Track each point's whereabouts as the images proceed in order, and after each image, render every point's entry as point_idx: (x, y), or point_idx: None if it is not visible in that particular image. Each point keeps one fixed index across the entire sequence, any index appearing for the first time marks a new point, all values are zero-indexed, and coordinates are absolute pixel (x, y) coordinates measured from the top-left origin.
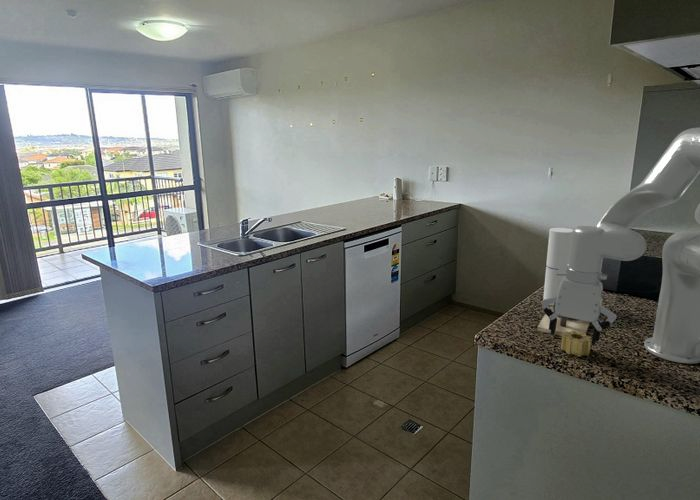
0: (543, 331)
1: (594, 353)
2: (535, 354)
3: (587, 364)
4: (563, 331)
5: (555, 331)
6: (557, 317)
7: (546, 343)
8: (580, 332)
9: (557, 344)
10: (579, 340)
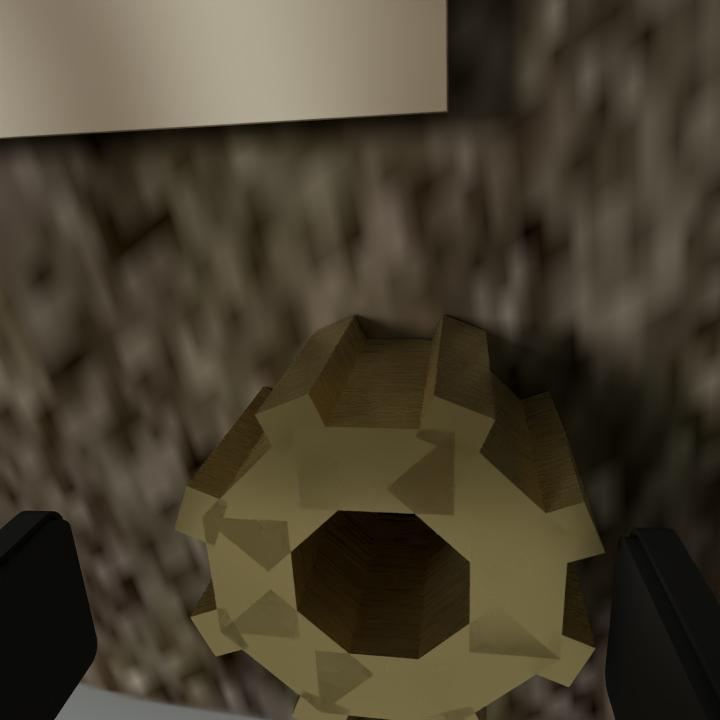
0: None
1: (617, 433)
2: (121, 692)
3: (558, 692)
4: (134, 85)
5: (47, 135)
6: None
7: (102, 444)
8: None
9: (201, 410)
10: (439, 700)
